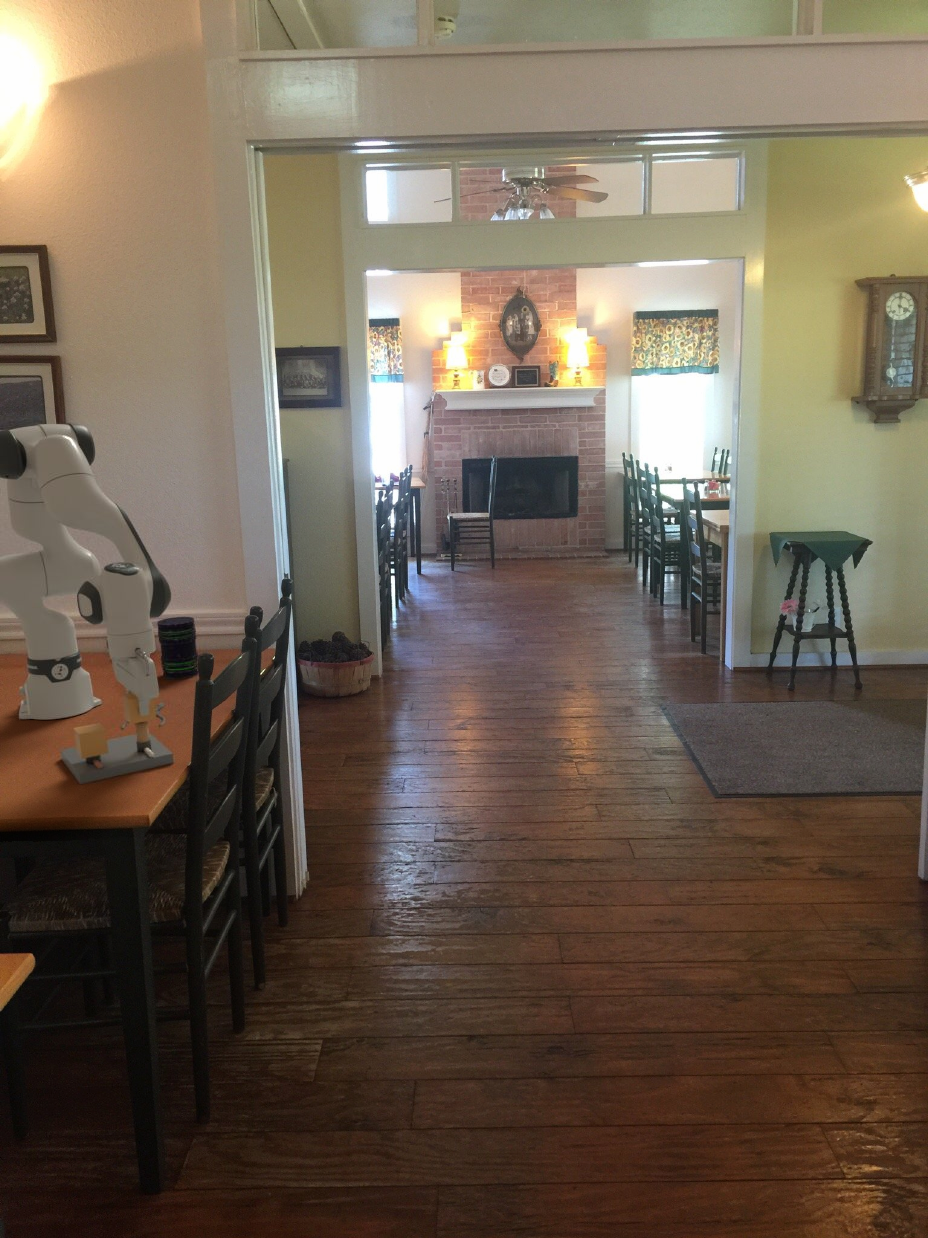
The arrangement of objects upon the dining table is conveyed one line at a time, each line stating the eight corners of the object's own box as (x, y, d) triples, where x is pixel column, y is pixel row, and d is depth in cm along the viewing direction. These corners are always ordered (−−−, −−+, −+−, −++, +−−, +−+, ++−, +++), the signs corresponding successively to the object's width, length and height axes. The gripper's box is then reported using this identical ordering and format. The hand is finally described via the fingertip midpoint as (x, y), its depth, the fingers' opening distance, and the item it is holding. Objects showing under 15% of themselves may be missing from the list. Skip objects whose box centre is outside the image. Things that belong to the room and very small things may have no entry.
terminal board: (61, 759, 203) (56, 718, 201) (149, 740, 213) (144, 701, 211) (80, 784, 188) (74, 740, 186) (173, 763, 198) (169, 721, 196)
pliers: (121, 729, 220) (122, 705, 238) (121, 733, 220) (122, 709, 238) (166, 724, 222) (163, 700, 241) (166, 727, 223) (164, 703, 241)
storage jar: (202, 668, 273) (196, 615, 270) (197, 677, 263) (192, 623, 260) (165, 671, 272) (159, 618, 269) (159, 680, 262) (153, 625, 259)
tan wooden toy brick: (149, 713, 202) (146, 690, 201) (156, 719, 198) (153, 695, 197) (124, 718, 199) (121, 694, 198) (131, 724, 195) (128, 700, 194)
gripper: (162, 651, 189) (170, 719, 191) (134, 634, 205) (142, 697, 208) (129, 656, 185) (137, 726, 188) (103, 638, 202) (111, 703, 205)
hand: (139, 711), depth 198 cm, fingers closed on tan wooden toy brick, 5 cm apart
